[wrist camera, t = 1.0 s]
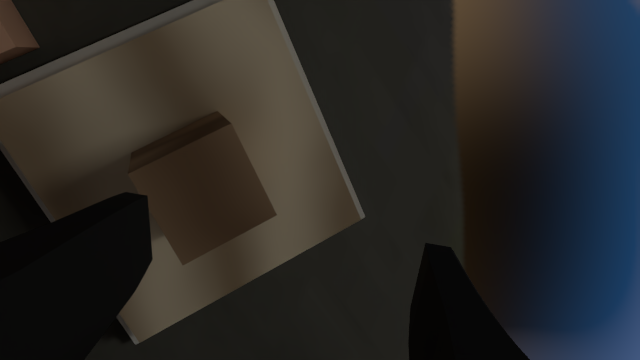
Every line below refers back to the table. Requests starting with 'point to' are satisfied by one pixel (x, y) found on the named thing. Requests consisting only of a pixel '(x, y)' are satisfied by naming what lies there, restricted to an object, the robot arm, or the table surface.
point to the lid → (188, 153)
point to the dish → (13, 33)
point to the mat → (198, 3)
